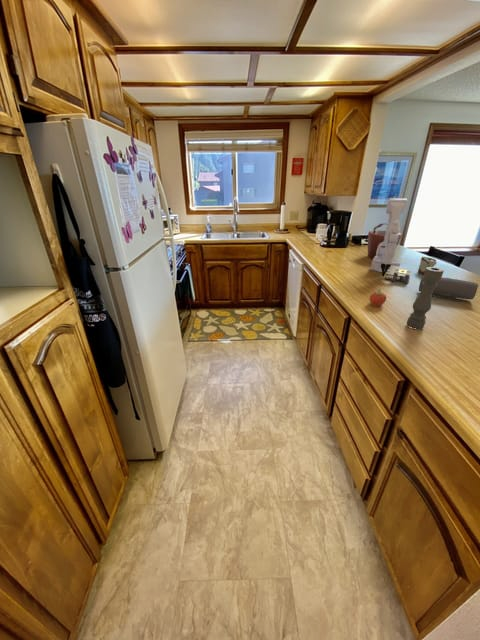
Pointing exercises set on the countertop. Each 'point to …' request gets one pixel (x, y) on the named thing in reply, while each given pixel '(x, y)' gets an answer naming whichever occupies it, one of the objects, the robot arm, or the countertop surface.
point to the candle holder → (424, 297)
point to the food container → (426, 264)
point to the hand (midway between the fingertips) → (383, 275)
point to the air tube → (399, 278)
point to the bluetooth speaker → (453, 288)
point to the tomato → (377, 298)
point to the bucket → (376, 240)
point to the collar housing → (401, 273)
